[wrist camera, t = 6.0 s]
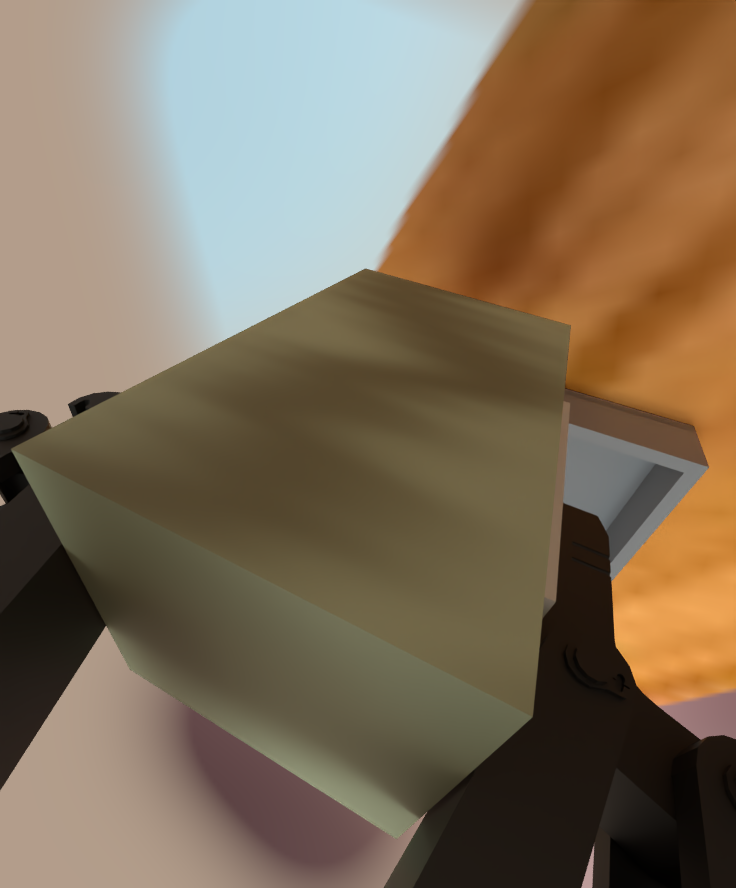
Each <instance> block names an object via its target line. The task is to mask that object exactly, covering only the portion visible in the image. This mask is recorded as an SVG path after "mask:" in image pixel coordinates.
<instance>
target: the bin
mask: <svg viewBox="0 0 736 888" xmlns="http://www.w3.org/2000/svg"><path fill="white" fill-rule="evenodd" d="M564 401H565V402H568V403H570V413H569V427H568V440H567V454H566V468H565V482H564V496H563V503H565V504H568V505H570V506H573V507H575V508H578V509H581V510H583V511H586V512H589V513H591V514H594V515H596V516H598V517H599V519H600V521H601V523H602V525H603V526H604V528H605V530H606V532H607V534H608V536H609V548H610V557H609V560H610V566H611V573H610V577H611V581H612V580H613V579H614V578H615V577H616V575H617V574H618V573H619V572H620V571H621V570H622V568H623V567H624V566H625V565H626V564H627V563H628V561H629V560H630V559H631V558H632V557H633V556H634V554H635V553H636V552H637V551H638V550H639V549H640V547H641V546H642V545H643V544H644V543H645V542H646V540H647V539H648V538H649V537H650V536H651V535H652V533H653V532H654V531H655V530H656V529H657V528H658V526H659V525H660V524H661V523H662V522H663V521H664V519H665V518H666V517H667V516H668V515H669V514H670V512H671V511H672V510H673V509H674V508H675V506H676V505H677V504H678V503H679V502H680V501H681V499H682V498H683V497H684V496H685V495H686V494H687V492H688V491H689V490H690V489H691V488H692V487H693V485H694V484H695V483H696V482H697V481H698V480H699V478H700V477H701V476H702V475H703V474H704V473H705V471H706V470H707V469H708V468H709V466H708V463H707V460H706V458H705V455H704V452H703V450H702V447H701V444H700V441H699V439H698V436H697V433H696V431H695V428H694V426H691V425H688V424H684V423H681V422H678V421H674V420H671V419H667V418H664V417H661V416H657V415H654V414H650V413H647V412H644V411H640V410H637V409H633V408H630V407H626V406H623V405H620V404H616V403H613V402H609V401H606V400H603V399H599V398H596V397H592V396H589V395H586V394H582V393H579V392H575V391H572V390H569V389H565V391H564Z"/></svg>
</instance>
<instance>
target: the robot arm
mask: <svg viewBox="0 0 736 888" xmlns="http://www.w3.org/2000/svg"><path fill="white" fill-rule="evenodd" d="M118 394H120V393H119V392H102V393H93V394H90V395H87V396H84V397H80V398H78V399H76V400H75V401H73V402H71V403H69V404H68V406H69V408H70V411H71V413H72V416H73V417H74V416H76V415H78V414H80V413H82V412H84V411H86V410H88V409H90V408H92V407H94V406H96V405H98V404H100V403H102V402H104V401H106V400H108V399H110V398H112V397H114V396H116V395H118ZM569 413H570V403H568V402H565V401H563V411H562V422H561V432H560V442H559V453H558V463H557V473H556V483H555V494H554V504H553V514H552V524H551V535H550V545H549V555H548V566H547V576H546V586H545V596H544V607H543V617H542V627H541V637H540V648H539V658H538V668H537V679H536V689H535V699H534V709H533V717H532V718H531V719H530V720H529V721H528V722H527V723H525V724H524V725H523V726H522V727H521V728H520V729H519V730H518V731H517V732H515V733H514V734H513V735H512V736H511V737H510V738H509V739H508V740H507V741H505V742H504V743H503V744H502V745H501V746H500V747H499V748H498V749H497V750H495V751H494V752H493V753H492V754H491V755H490V756H489V757H488V758H486V759H485V760H484V761H483V762H482V763H481V764H480V765H479V766H478V767H476V768H475V769H474V770H473V771H472V772H471V773H470V774H469V775H468V776H466V777H465V778H464V779H463V780H462V781H461V782H460V783H459V784H458V785H456V786H455V787H454V788H453V789H452V790H451V791H450V792H449V793H447V794H446V795H445V796H444V797H443V798H442V799H441V800H440V801H439V802H437V803H436V804H435V805H434V806H433V807H432V808H431V809H430V810H429V811H428V812H427V814H426V815H425V817H424V819H423V820H422V822H421V824H420V826H419V827H418V829H417V831H416V833H415V834H414V836H413V838H412V839H411V841H410V843H409V845H408V846H407V848H406V850H405V852H404V853H403V855H402V857H401V859H400V860H399V862H398V864H397V866H396V867H395V869H394V871H393V873H392V874H391V876H390V878H389V880H388V881H387V883H386V885H385V886H384V888H581V887H582V883H583V880H584V876H585V873H586V869H587V866H588V862H589V859H590V856H591V852H592V849H593V846H594V865H593V887H592V888H736V739H733V738H730V737H727V736H724V735H721V736H710V737H706V738H704V739H702V740H700V739H699V738H698V737H696V736H695V735H694V734H692V733H691V732H690V731H689V730H687V729H686V728H685V727H683V726H682V725H681V724H680V723H678V722H677V721H676V720H675V719H673V718H672V717H671V716H669V715H668V714H667V713H665V712H664V711H663V710H662V709H661V708H659V707H658V706H657V705H656V704H654V703H653V702H652V701H651V700H650V699H649V698H648V697H647V696H646V695H644V694H643V693H642V692H641V690H640V689H639V688H638V687H637V686H636V683H635V680H634V677H633V674H632V672H631V669H630V666H629V665H628V663H627V662H626V661H625V659H624V658H623V656H622V655H621V653H620V652H619V651H618V649H617V648H616V645H615V639H614V621H613V602H612V584H611V577H610V573H611V566H610V560H609V557H610V548H609V536H608V534H607V532H606V530H605V528H604V526H603V525H602V523H601V521H600V519H599V517H598V516H596V515H594V514H591V513H589V512H586V511H583V510H581V509H578V508H575V507H573V506H570V505H568V504H565V503H563V496H564V482H565V468H566V454H567V440H568V427H569ZM51 428H52V427H51V425H50V423H49V421H48V418H47V417H46V416H45V415H43V414H41V413H40V412H36V411H30V410H14V411H8V412H3V413H0V495H1V497H2V498H3V500H4V501H5V503H6V504H4V505H2V506H0V790H1V788H2V787H3V785H4V784H5V782H6V781H7V779H8V778H9V776H10V774H11V773H12V771H13V770H14V768H15V767H16V765H17V763H18V762H19V760H20V759H21V757H22V756H23V754H24V753H25V751H26V749H27V748H28V746H29V745H30V743H31V742H32V740H33V739H34V737H35V736H36V734H37V732H38V731H39V729H40V728H41V726H42V725H43V723H44V721H45V720H46V718H47V717H48V715H49V714H50V712H51V711H52V709H53V707H54V706H55V704H56V703H57V701H58V700H59V698H60V697H61V695H62V693H63V692H64V690H65V689H66V687H67V686H68V684H69V683H70V681H71V679H72V678H73V676H74V675H75V673H76V672H77V670H78V668H79V667H80V665H81V664H82V662H83V661H84V659H85V658H86V656H87V655H88V653H89V651H90V650H91V648H92V647H93V645H94V644H95V642H96V641H97V639H98V637H99V636H100V634H101V633H102V631H103V630H104V628H105V626H106V624H105V622H104V621H103V619H102V617H101V615H100V613H99V611H98V609H97V608H96V606H95V604H94V602H93V600H92V598H91V596H90V595H89V593H88V591H87V589H86V587H85V585H84V583H83V582H82V580H81V578H80V576H79V574H78V572H77V571H76V569H75V567H74V565H73V563H72V561H71V559H70V558H69V556H68V554H67V552H66V550H65V548H64V546H63V545H62V543H61V541H60V539H59V537H58V535H57V534H56V532H55V530H54V528H53V526H52V524H51V522H50V521H49V519H48V517H47V515H46V513H45V511H44V509H43V508H42V506H41V504H40V502H39V500H38V498H37V497H36V495H35V493H34V491H33V489H32V487H31V485H30V484H29V482H28V480H27V478H26V476H25V474H24V472H23V471H22V469H21V467H20V465H19V463H18V461H17V460H16V458H15V456H14V454H13V452H12V450H11V449H12V448H13V447H15V446H17V445H19V444H21V443H23V442H25V441H27V440H29V439H31V438H33V437H35V436H37V435H39V434H41V433H43V432H45V431H47V430H49V429H51ZM594 842H595V844H594Z"/></svg>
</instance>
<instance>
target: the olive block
mask: <svg viewBox="0 0 736 888" xmlns="http://www.w3.org/2000/svg"><path fill="white" fill-rule="evenodd" d="M570 329H571V325H567V324H564V323H560V322H557V321H553V320H549V319H546V318H542V317H538V316H535V315H531V314H528V313H524V312H520V311H517V310H513V309H510V308H506V307H502V306H499V305H495V304H492V303H488V302H484V301H481V300H477V299H474V298H470V297H466V296H463V295H459V294H456V293H452V292H448V291H445V290H441V289H438V288H434V287H430V286H427V285H423V284H420V283H416V282H412V281H409V280H405V279H401V278H398V277H394V276H391V275H387V274H383V273H380V272H376V271H373V270H369V269H364V270H362V271H360V272H358V273H356V274H354V275H352V276H350V277H348V278H346V279H344V280H342V281H340V282H338V283H336V284H334V285H332V286H330V287H328V288H326V289H324V290H323V291H320V292H319V293H316V294H314V295H313V296H311V297H309V298H307V299H305V300H303V301H301V302H299V303H297V304H295V305H293V306H291V307H289V308H287V309H285V310H283V311H281V312H279V313H277V314H275V315H273V316H271V317H269V318H267V319H265V320H263V321H261V322H259V323H257V324H256V325H254V326H251V327H250V328H248V329H246V330H244V331H242V332H240V333H238V334H236V335H234V336H232V337H230V338H228V339H226V340H224V341H222V342H220V343H218V344H216V345H214V346H212V347H210V348H208V349H206V350H204V351H202V352H200V353H198V354H196V355H194V356H193V357H191V358H189V359H187V360H185V361H183V362H181V363H179V364H177V365H175V366H173V367H171V368H169V369H167V370H165V371H163V372H161V373H159V374H157V375H155V376H153V377H151V378H149V379H147V380H145V381H143V382H141V383H139V384H137V385H136V386H133V387H132V388H130V389H128V390H126V391H124V392H122V393H120V394H118V395H116V396H114V397H112V398H110V399H108V400H106V401H104V402H102V403H100V404H98V405H96V406H94V407H92V408H90V409H88V410H86V411H84V412H82V413H80V414H78V415H76V416H74V417H73V418H71V419H69V420H67V421H65V422H63V423H61V424H59V425H57V426H55V427H53V428H51V429H49V430H47V431H45V432H43V433H41V434H39V435H37V436H35V437H33V438H31V439H29V440H27V441H25V442H23V443H21V444H19V445H17V446H15V447H13V448H12V449H11V450H12V452H13V454H14V456H15V458H16V460H17V461H18V463H19V465H20V467H21V469H22V471H23V472H24V474H25V476H26V478H27V480H28V482H29V484H30V485H31V487H32V489H33V491H34V493H35V495H36V497H37V498H38V500H39V502H40V504H41V506H42V508H43V509H44V511H45V513H46V515H47V517H48V519H49V521H50V522H51V524H52V526H53V528H54V530H55V532H56V534H57V535H58V537H59V539H60V541H61V543H62V545H63V546H64V548H65V550H66V552H67V554H68V556H69V558H70V559H71V561H72V563H73V565H74V567H75V569H76V571H77V572H78V574H79V576H80V578H81V580H82V582H83V583H84V585H85V587H86V589H87V591H88V593H89V595H90V596H91V598H92V600H93V602H94V604H95V606H96V608H97V609H98V611H99V613H100V615H101V617H102V619H103V621H104V622H105V624H106V626H107V628H108V630H109V631H110V633H111V635H112V637H113V639H114V641H115V642H116V644H117V646H118V648H119V650H120V652H121V654H122V656H123V657H124V659H125V661H126V663H127V665H128V667H129V669H130V670H132V671H133V672H135V673H136V674H138V675H140V676H141V677H143V678H144V679H146V680H147V681H149V682H150V683H152V684H154V685H155V686H157V687H158V688H160V689H162V690H163V691H165V692H166V693H168V694H169V695H171V696H172V697H174V698H176V699H177V700H179V701H180V702H182V703H183V704H185V705H186V706H188V707H190V708H191V709H193V710H194V711H196V712H197V713H199V714H201V715H202V716H204V717H205V718H207V719H208V720H210V721H212V722H213V723H215V724H216V725H218V726H219V727H221V728H223V729H224V730H226V731H227V732H229V733H230V734H232V735H234V736H235V737H237V738H238V739H240V740H242V741H243V742H245V743H246V744H248V745H249V746H251V747H252V748H254V749H256V750H257V751H259V752H261V753H262V754H263V755H265V756H267V757H268V758H270V759H271V760H273V761H274V762H276V763H278V764H279V765H281V766H282V767H284V768H285V769H287V770H289V771H290V772H292V773H293V774H295V775H296V776H298V777H300V778H301V779H303V780H304V781H306V782H308V783H309V784H311V785H312V786H314V787H315V788H317V789H318V790H320V791H322V792H323V793H325V794H326V795H328V796H329V797H331V798H333V799H334V800H336V801H337V802H339V803H340V804H342V805H344V806H345V807H347V808H348V809H350V810H351V811H353V812H355V813H356V814H358V815H359V816H361V817H362V818H364V819H366V820H367V821H369V822H370V823H372V824H374V825H375V826H377V827H378V828H380V829H381V830H383V831H384V832H386V833H388V834H389V835H391V836H392V837H394V838H395V839H397V838H398V837H400V836H401V835H402V834H403V833H404V832H405V831H406V830H407V829H408V828H410V827H411V826H412V825H413V824H414V823H415V822H416V821H417V820H418V819H420V818H421V817H422V816H423V815H424V814H425V813H426V812H427V811H429V810H430V809H431V808H432V807H433V806H434V805H435V804H436V803H437V802H439V801H440V800H441V799H442V798H443V797H444V796H445V795H446V794H447V793H449V792H450V791H451V790H452V789H453V788H454V787H455V786H456V785H458V784H459V783H460V782H461V781H462V780H463V779H464V778H465V777H466V776H468V775H469V774H470V773H471V772H472V771H473V770H474V769H475V768H476V767H478V766H479V765H480V764H481V763H482V762H483V761H484V760H485V759H486V758H488V757H489V756H490V755H491V754H492V753H493V752H494V751H495V750H497V749H498V748H499V747H500V746H501V745H502V744H503V743H504V742H505V741H507V740H508V739H509V738H510V737H511V736H512V735H513V734H514V733H515V732H517V731H518V730H519V729H520V728H521V727H522V726H523V725H524V724H525V723H527V722H528V721H529V720H530V719H531V718H532V717H533V709H534V699H535V689H536V679H537V668H538V658H539V648H540V637H541V627H542V617H543V607H544V596H545V586H546V576H547V566H548V555H549V545H550V535H551V524H552V514H553V504H554V494H555V483H556V473H557V463H558V453H559V442H560V432H561V422H562V411H563V401H564V391H565V381H566V370H567V360H568V350H569V340H570Z"/></svg>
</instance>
